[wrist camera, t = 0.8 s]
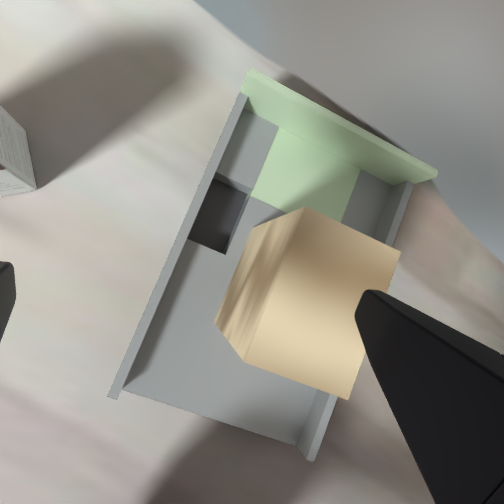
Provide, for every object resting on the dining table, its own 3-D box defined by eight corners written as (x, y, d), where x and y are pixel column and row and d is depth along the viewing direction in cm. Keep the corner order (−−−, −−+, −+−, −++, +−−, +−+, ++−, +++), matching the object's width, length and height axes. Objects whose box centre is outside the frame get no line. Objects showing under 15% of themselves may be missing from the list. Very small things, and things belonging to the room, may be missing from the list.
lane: (294, 435, 28) (328, 482, 22) (116, 376, 25) (100, 411, 19) (386, 188, 30) (438, 170, 24) (232, 109, 27) (250, 67, 21)
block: (279, 347, 25) (348, 400, 16) (213, 322, 24) (244, 362, 15) (314, 255, 26) (401, 252, 16) (252, 227, 25) (305, 206, 15)
